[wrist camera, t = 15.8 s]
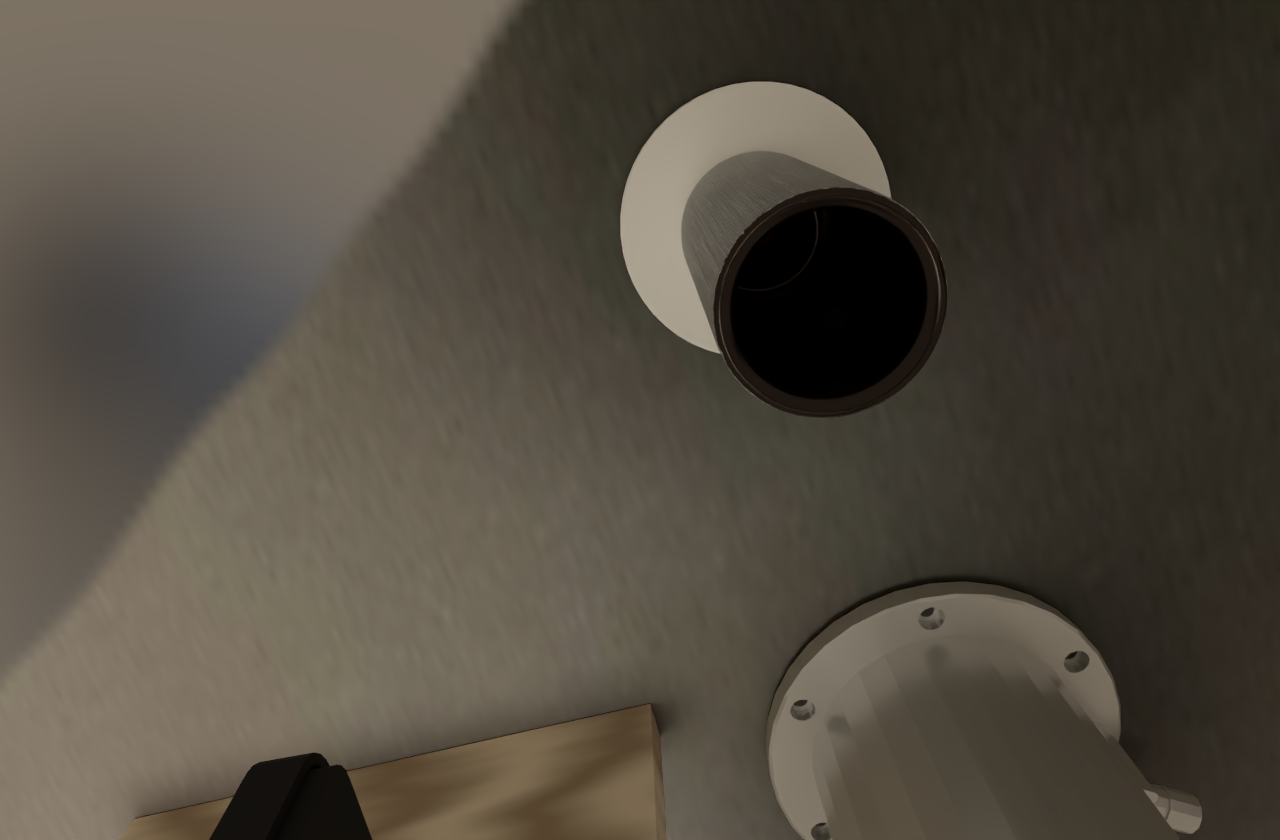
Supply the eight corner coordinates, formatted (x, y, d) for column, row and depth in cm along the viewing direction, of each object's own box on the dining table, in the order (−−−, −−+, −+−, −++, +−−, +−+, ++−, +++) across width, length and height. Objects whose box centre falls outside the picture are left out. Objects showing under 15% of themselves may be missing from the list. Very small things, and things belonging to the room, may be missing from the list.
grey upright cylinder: (829, 303, 28) (938, 418, 18) (680, 306, 28) (710, 423, 18) (837, 148, 27) (962, 184, 17) (679, 150, 27) (713, 188, 17)
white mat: (930, 136, 27) (936, 137, 27) (824, 383, 30) (828, 389, 29) (672, 40, 26) (673, 39, 26) (585, 305, 29) (585, 310, 28)
